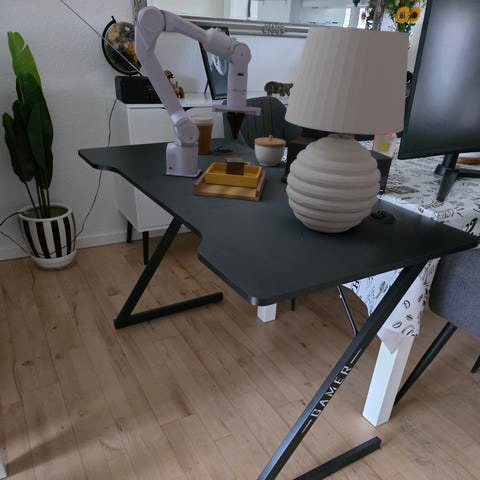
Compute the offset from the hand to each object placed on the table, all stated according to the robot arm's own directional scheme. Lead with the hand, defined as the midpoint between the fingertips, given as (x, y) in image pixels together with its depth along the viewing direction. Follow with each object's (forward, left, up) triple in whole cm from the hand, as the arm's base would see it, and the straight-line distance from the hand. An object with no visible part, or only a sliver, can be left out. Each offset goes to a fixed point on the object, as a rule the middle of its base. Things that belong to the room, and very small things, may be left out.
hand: (235, 139), depth 139 cm
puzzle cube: (+53, +48, -11) cm, 72 cm away
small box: (+42, -4, -11) cm, 43 cm away
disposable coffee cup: (-16, +24, -11) cm, 31 cm away
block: (+2, -12, -9) cm, 15 cm away
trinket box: (+10, +16, -11) cm, 22 cm away
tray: (+2, -9, -9) cm, 13 cm away
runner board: (+2, -15, -10) cm, 19 cm away
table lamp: (+29, -39, -11) cm, 50 cm away
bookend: (+25, +4, -11) cm, 27 cm away
